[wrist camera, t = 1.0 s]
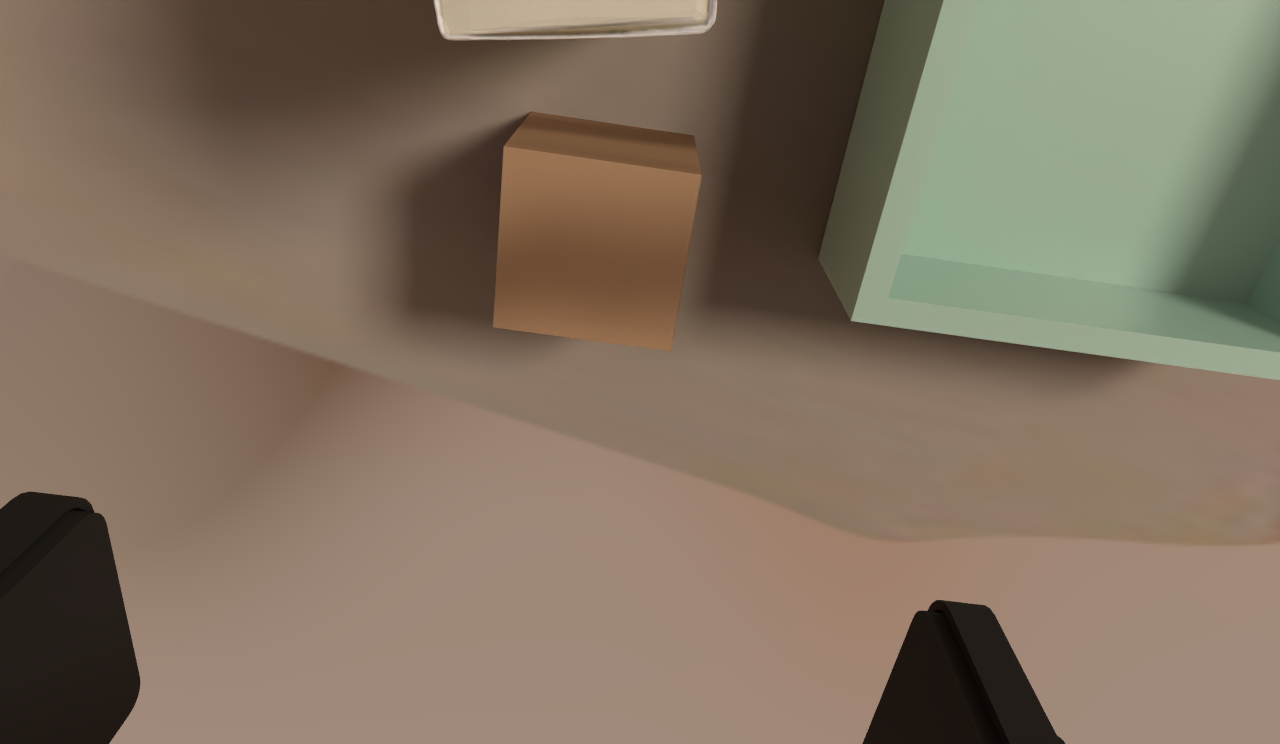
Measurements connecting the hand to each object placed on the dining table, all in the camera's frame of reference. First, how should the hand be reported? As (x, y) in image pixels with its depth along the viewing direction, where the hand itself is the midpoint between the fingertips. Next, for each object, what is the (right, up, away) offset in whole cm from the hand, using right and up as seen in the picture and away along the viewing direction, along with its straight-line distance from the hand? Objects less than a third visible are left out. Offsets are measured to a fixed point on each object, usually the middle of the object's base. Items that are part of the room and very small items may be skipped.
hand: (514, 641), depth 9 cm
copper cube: (0, +9, +16) cm, 18 cm away
